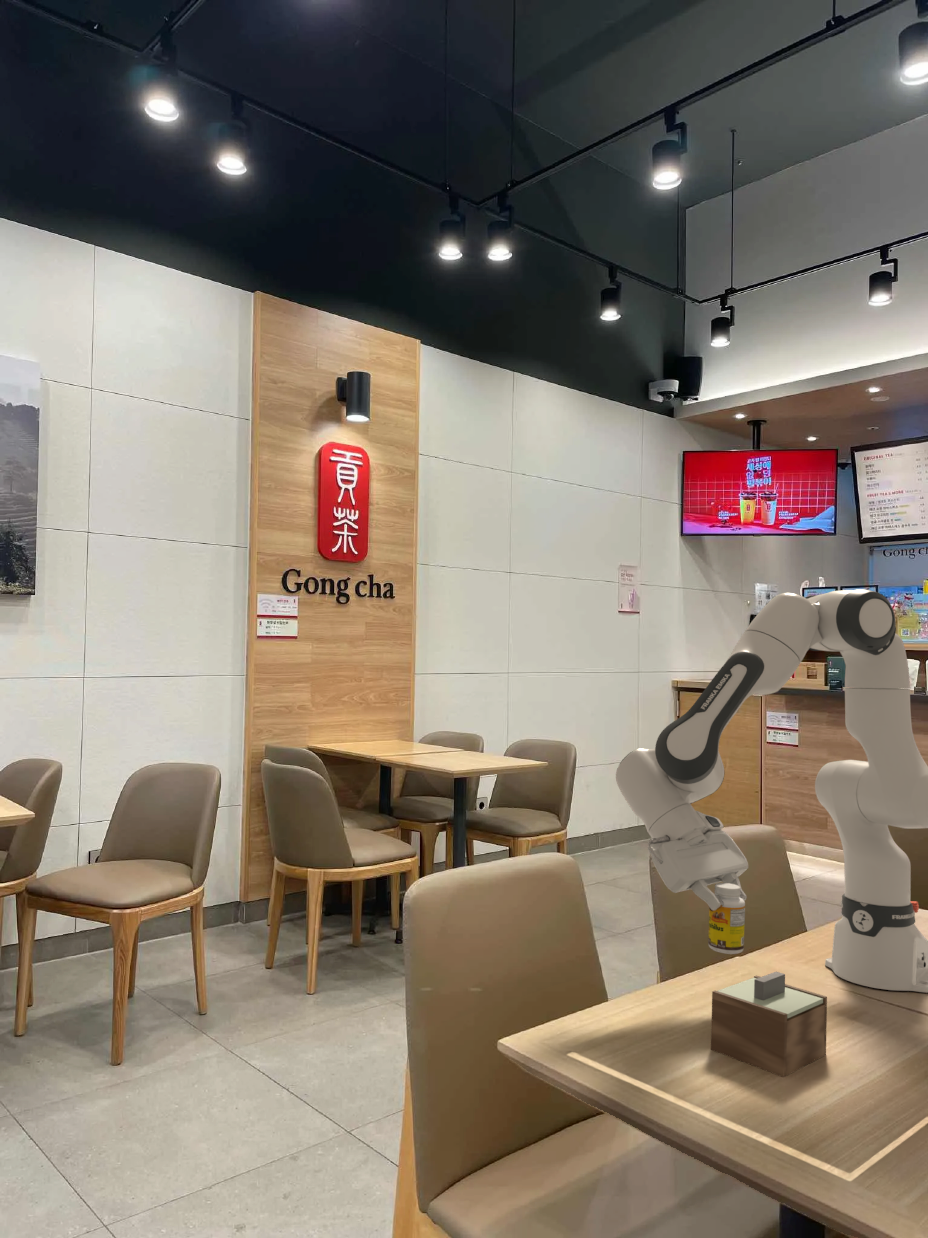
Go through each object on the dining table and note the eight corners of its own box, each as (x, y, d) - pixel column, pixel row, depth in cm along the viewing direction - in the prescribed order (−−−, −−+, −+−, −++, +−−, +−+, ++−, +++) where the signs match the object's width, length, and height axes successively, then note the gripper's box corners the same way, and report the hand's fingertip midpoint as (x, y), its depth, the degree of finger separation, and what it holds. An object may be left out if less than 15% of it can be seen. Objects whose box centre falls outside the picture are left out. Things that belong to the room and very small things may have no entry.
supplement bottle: (701, 945, 148) (703, 882, 149) (730, 943, 150) (732, 881, 150) (720, 956, 143) (722, 890, 143) (751, 954, 144) (752, 889, 145)
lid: (753, 981, 136) (753, 960, 136) (822, 1003, 128) (823, 980, 128) (716, 995, 129) (717, 973, 129) (787, 1018, 121) (788, 995, 121)
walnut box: (755, 1034, 136) (756, 975, 137) (825, 1059, 128) (827, 996, 129) (710, 1053, 128) (712, 991, 129) (783, 1081, 120) (784, 1015, 121)
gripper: (655, 828, 145) (707, 903, 138) (724, 817, 159) (775, 885, 151) (631, 851, 148) (681, 926, 141) (701, 839, 162) (750, 906, 154)
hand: (730, 904), depth 146 cm, fingers closed on supplement bottle, 5 cm apart
